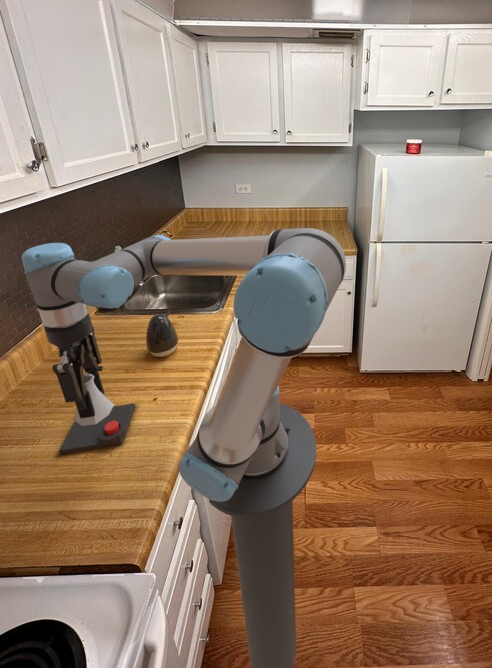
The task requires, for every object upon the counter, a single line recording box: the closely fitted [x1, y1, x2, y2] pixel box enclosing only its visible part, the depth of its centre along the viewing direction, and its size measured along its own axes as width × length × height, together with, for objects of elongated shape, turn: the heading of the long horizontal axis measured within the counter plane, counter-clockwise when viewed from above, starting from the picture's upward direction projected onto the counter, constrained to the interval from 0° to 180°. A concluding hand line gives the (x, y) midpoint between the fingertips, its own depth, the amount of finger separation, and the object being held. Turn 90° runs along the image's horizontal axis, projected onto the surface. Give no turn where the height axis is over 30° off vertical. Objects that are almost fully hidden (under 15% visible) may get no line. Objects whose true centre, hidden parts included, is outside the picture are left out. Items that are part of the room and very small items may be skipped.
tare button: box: [104, 421, 119, 435], centre depth 85 cm, size 3×3×2 cm
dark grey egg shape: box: [145, 309, 179, 358], centre depth 115 cm, size 10×10×15 cm
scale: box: [58, 402, 136, 455], centre depth 88 cm, size 14×12×3 cm
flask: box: [74, 373, 115, 426], centre depth 74 cm, size 7×7×10 cm
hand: (93, 405), depth 75 cm, fingers closed on flask, 5 cm apart
